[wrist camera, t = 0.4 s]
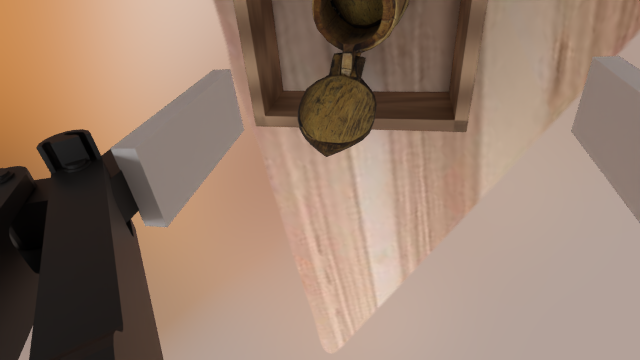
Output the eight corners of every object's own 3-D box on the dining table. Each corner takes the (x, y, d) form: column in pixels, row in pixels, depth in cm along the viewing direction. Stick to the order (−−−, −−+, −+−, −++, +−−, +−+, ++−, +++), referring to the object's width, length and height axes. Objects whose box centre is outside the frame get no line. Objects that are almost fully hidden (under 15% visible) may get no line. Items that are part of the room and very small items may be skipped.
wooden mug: (316, 71, 43) (268, 151, 29) (323, -70, 36) (261, -58, 21) (394, 81, 42) (385, 168, 28) (419, -63, 34) (424, -45, 20)
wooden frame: (246, -95, 36) (215, -97, 30) (491, -119, 31) (508, -126, 26) (274, 100, 47) (256, 126, 41) (459, 102, 42) (466, 131, 37)
